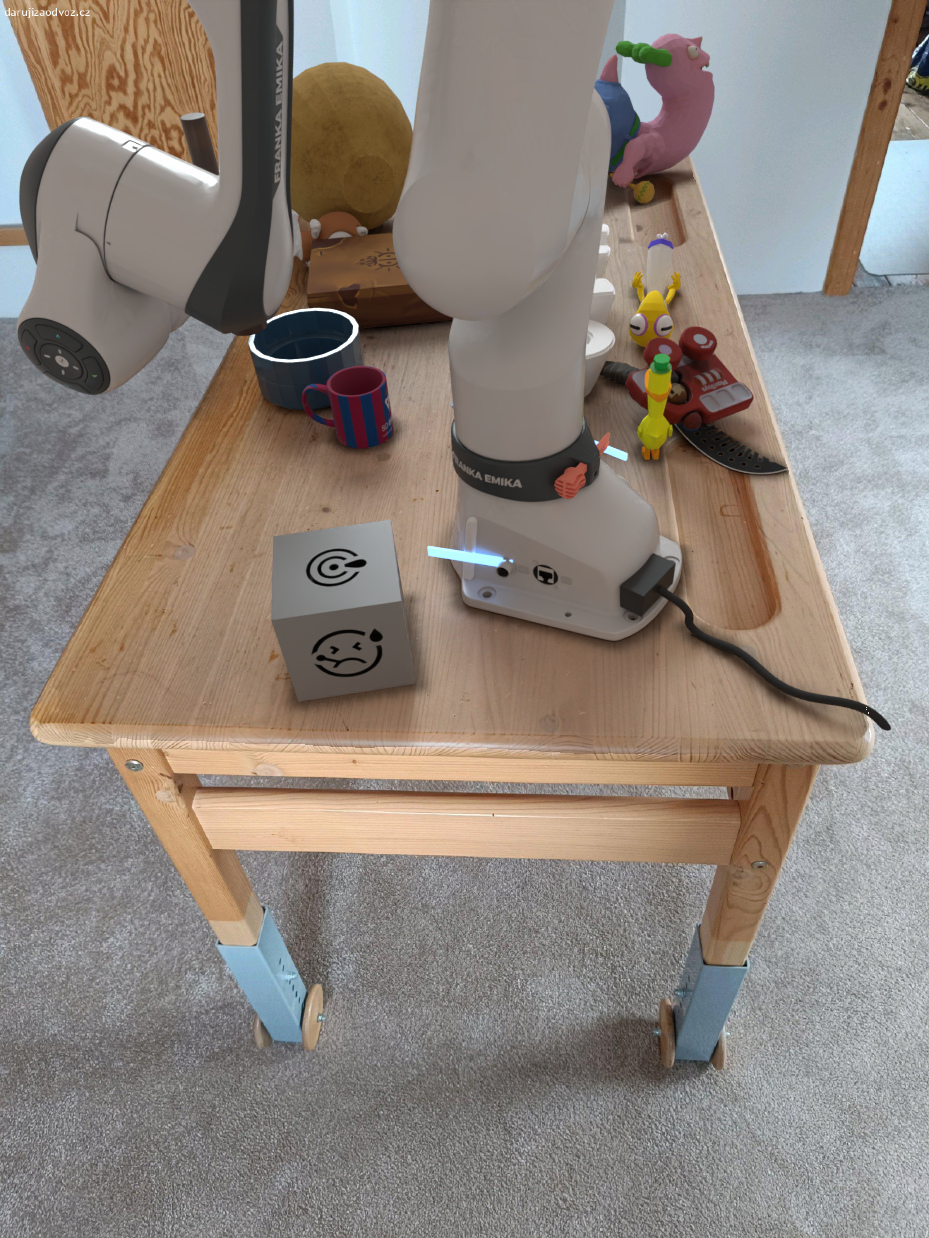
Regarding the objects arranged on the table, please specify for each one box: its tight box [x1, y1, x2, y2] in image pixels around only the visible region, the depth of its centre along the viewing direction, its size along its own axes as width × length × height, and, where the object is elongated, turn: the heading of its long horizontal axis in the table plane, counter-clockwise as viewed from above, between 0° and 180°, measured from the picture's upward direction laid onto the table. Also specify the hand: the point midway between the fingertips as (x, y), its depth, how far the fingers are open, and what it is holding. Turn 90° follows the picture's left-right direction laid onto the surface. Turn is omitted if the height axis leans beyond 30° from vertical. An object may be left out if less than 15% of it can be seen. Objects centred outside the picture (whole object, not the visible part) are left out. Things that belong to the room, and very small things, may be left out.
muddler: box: [179, 112, 267, 337], centre depth 82 cm, size 4×4×20 cm
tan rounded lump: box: [290, 61, 413, 231], centre depth 135 cm, size 24×24×30 cm
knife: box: [599, 360, 789, 475], centre depth 96 cm, size 28×2×5 cm
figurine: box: [294, 211, 369, 268], centre depth 128 cm, size 9×9×12 cm
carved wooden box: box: [306, 232, 453, 330], centre depth 120 cm, size 23×19×6 cm
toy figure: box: [636, 354, 673, 461], centre depth 88 cm, size 7×4×12 cm, turn 178°
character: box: [628, 232, 682, 348], centre depth 110 cm, size 6×10×20 cm
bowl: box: [247, 308, 366, 411], centre depth 105 cm, size 13×13×7 cm
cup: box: [302, 365, 395, 450], centre depth 97 cm, size 7×10×7 cm
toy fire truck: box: [624, 325, 755, 431], centre depth 94 cm, size 7×12×10 cm
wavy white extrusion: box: [584, 223, 616, 398], centre depth 106 cm, size 35×16×11 cm, turn 172°
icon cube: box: [270, 519, 416, 703], centre depth 71 cm, size 10×10×10 cm
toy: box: [594, 33, 716, 205], centre depth 141 cm, size 24×24×30 cm
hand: (220, 205), depth 81 cm, fingers closed on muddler, 2 cm apart
